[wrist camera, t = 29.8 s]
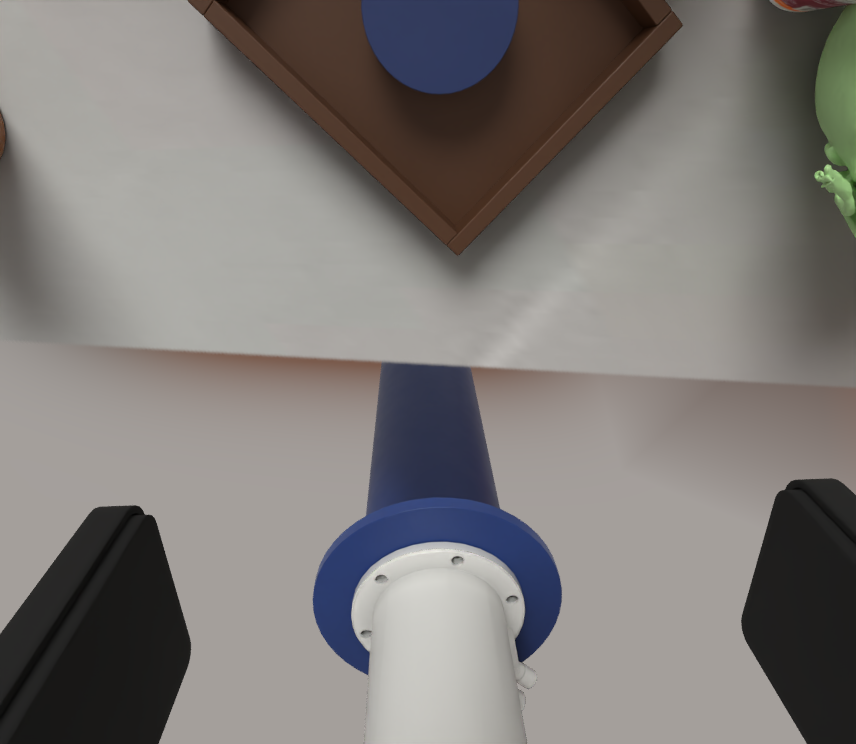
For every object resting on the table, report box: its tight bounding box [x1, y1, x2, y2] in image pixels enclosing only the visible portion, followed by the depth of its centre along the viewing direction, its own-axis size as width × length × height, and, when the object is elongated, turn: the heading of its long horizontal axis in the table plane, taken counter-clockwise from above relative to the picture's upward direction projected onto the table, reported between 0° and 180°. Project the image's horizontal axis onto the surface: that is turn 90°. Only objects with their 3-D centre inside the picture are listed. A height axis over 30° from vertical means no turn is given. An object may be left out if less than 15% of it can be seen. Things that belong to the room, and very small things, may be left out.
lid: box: [361, 0, 519, 95], centre depth 25 cm, size 6×6×2 cm
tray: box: [188, 0, 683, 255], centre depth 26 cm, size 16×14×2 cm
